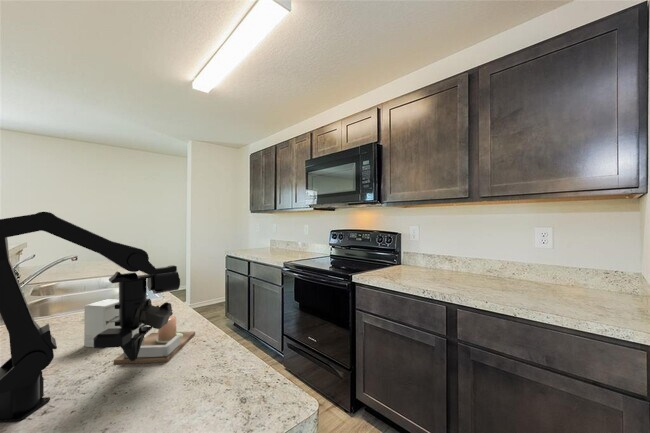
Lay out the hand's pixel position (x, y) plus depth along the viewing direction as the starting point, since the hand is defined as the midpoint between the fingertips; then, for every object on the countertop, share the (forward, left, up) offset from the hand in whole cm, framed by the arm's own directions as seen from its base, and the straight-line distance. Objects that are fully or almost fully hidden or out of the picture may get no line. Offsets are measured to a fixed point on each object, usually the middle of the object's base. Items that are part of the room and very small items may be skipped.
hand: (133, 360), depth 70 cm
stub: (+18, +1, -2) cm, 18 cm away
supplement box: (+19, +20, -3) cm, 28 cm away
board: (+14, +1, -3) cm, 14 cm away
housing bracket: (+9, 0, -2) cm, 9 cm away
